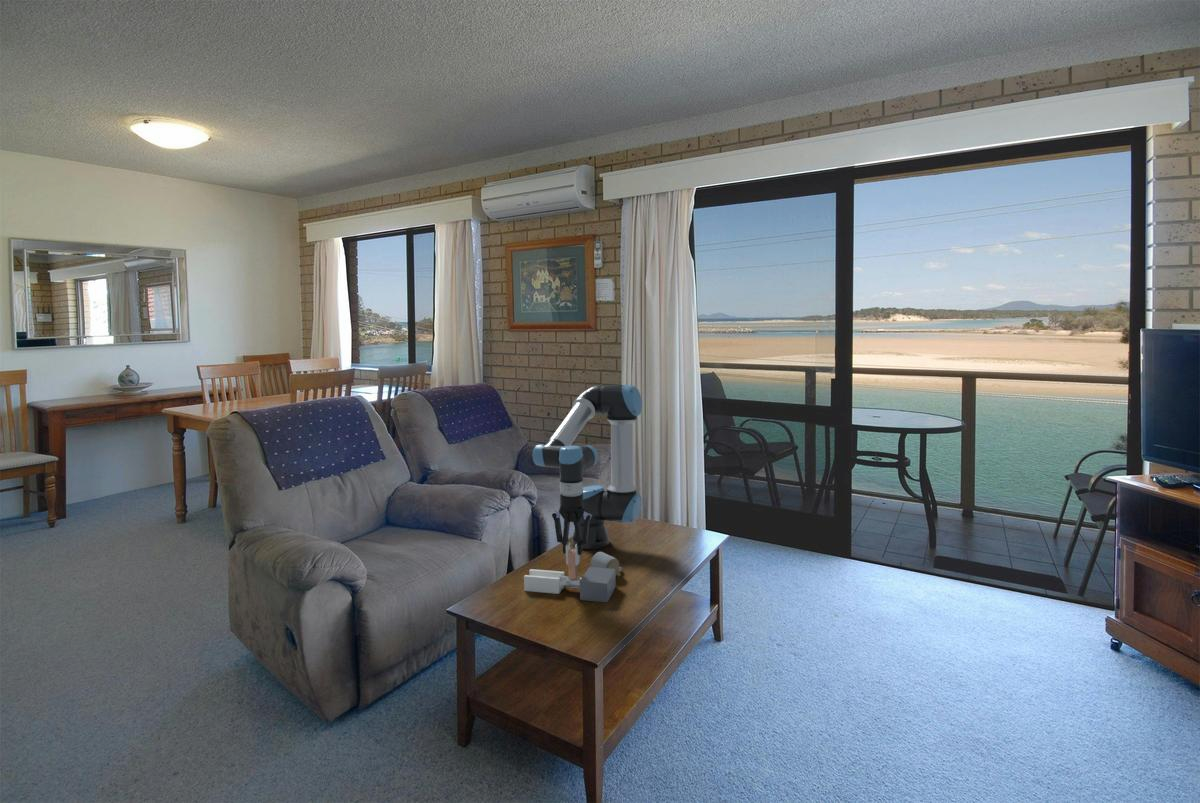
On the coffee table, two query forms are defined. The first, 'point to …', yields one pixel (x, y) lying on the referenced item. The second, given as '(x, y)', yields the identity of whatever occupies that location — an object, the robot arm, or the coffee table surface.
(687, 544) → the coffee table surface
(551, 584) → the white channel cradle
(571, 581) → the silver peg with handle
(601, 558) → the ceramic mug
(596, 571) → the socket block
